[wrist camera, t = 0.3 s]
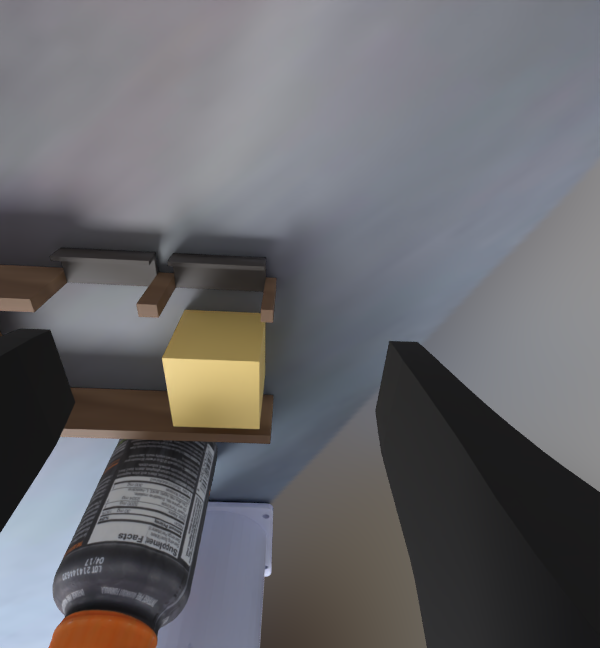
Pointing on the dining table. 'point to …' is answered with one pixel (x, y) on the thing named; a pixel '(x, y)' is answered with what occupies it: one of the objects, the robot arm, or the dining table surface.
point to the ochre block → (216, 369)
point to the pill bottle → (135, 545)
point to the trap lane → (140, 270)
